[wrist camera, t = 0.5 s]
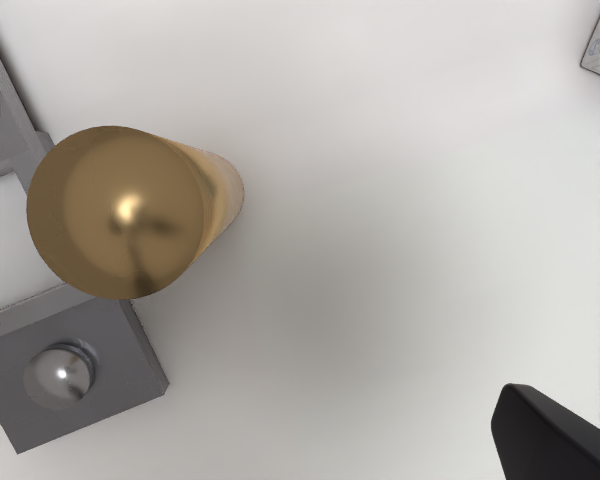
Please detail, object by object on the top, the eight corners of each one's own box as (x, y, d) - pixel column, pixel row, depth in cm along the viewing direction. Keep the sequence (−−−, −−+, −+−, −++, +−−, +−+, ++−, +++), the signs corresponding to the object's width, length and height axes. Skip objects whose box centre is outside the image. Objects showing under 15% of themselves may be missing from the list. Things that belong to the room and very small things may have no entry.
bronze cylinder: (236, 238, 23) (190, 312, 11) (157, 225, 23) (18, 284, 11) (249, 160, 23) (217, 144, 10) (169, 145, 22) (35, 109, 10)
